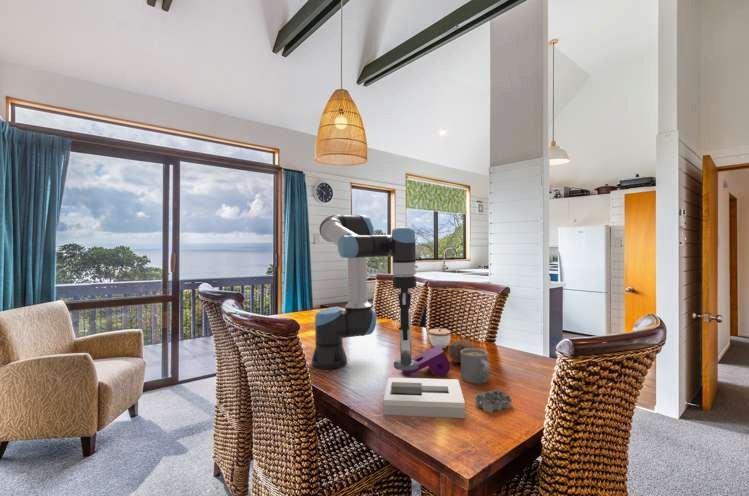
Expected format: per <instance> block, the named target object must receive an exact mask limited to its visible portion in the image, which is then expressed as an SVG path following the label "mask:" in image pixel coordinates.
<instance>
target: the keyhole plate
mask: <svg viewBox="0 0 749 496" xmlns="http://www.w3.org/2000/svg"><path fill="white" fill-rule="evenodd" d="M394 393H395V394H394ZM413 394H415V395H413ZM416 394H418V395H416ZM419 394H421V395H419ZM383 415H384V416H402V417H403V416H405V417H406V416H407V417H426V418H427V417H428V418H430V417H431V418H452V419H453V418H456V419H458V418H459V419H466V402H465V399H464V395H463V391H462V388H461V385H460V381H459V379H457V378H456V379H455V378H454V379H452V378H451V379H450V378H419V377H388V380H387V383H386V388H385V391H384V396H383Z"/></svg>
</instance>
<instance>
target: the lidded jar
mask: <svg viewBox="0 0 749 496" xmlns="http://www.w3.org/2000/svg"><path fill="white" fill-rule="evenodd" d="M451 335H452V331H451V330H450V329H446V328H441V327H438V328H432V329H429V330H428V336H429V337H428V338H429V342H430V344H431V345H432V346H433V347H435V346H437V345H439V346H440V347H441V348H442V349H446V348H447V346H449V344H450V342H451Z"/></svg>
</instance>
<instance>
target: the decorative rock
mask: <svg viewBox="0 0 749 496" xmlns="http://www.w3.org/2000/svg"><path fill="white" fill-rule="evenodd" d="M466 348H476V346H475V345H474V344H473V343H472V342H470V341H469V340H468V339H459V340H458V339H457V340H454V341H452V342H451V343H450V345H448V347H447V353H448V354H449V357H450V358H451V359H452V361H453V362H454V363H455V364H456V363H461V350H463V349H466Z"/></svg>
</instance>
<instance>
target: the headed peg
mask: <svg viewBox="0 0 749 496" xmlns="http://www.w3.org/2000/svg"><path fill="white" fill-rule="evenodd" d="M411 323H412V311H411V310H410V309H409V333H410V350H401V330H399V340H400V342H399V348H400V350H399V351H400V359H397V360H395V361H394V362H393V368H394V369H396V370H398V371H402V370H403V371H410V370H415V369H417V368H418V367H419V363H418V362H417V361H415V360H412V358H413V357H412V356H413V355H412V326H411ZM400 326H401V313H400V312H399V327H400ZM403 371H402V372H403Z"/></svg>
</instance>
